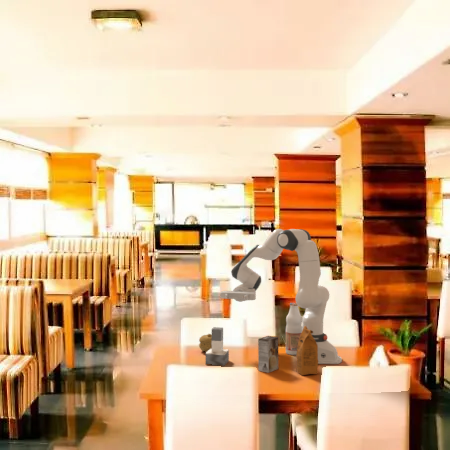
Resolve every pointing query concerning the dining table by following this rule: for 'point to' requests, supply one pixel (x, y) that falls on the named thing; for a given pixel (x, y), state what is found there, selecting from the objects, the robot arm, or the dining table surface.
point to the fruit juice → (293, 329)
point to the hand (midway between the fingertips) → (235, 297)
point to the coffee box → (268, 354)
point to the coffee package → (307, 353)
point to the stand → (217, 357)
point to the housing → (217, 339)
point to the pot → (205, 342)
